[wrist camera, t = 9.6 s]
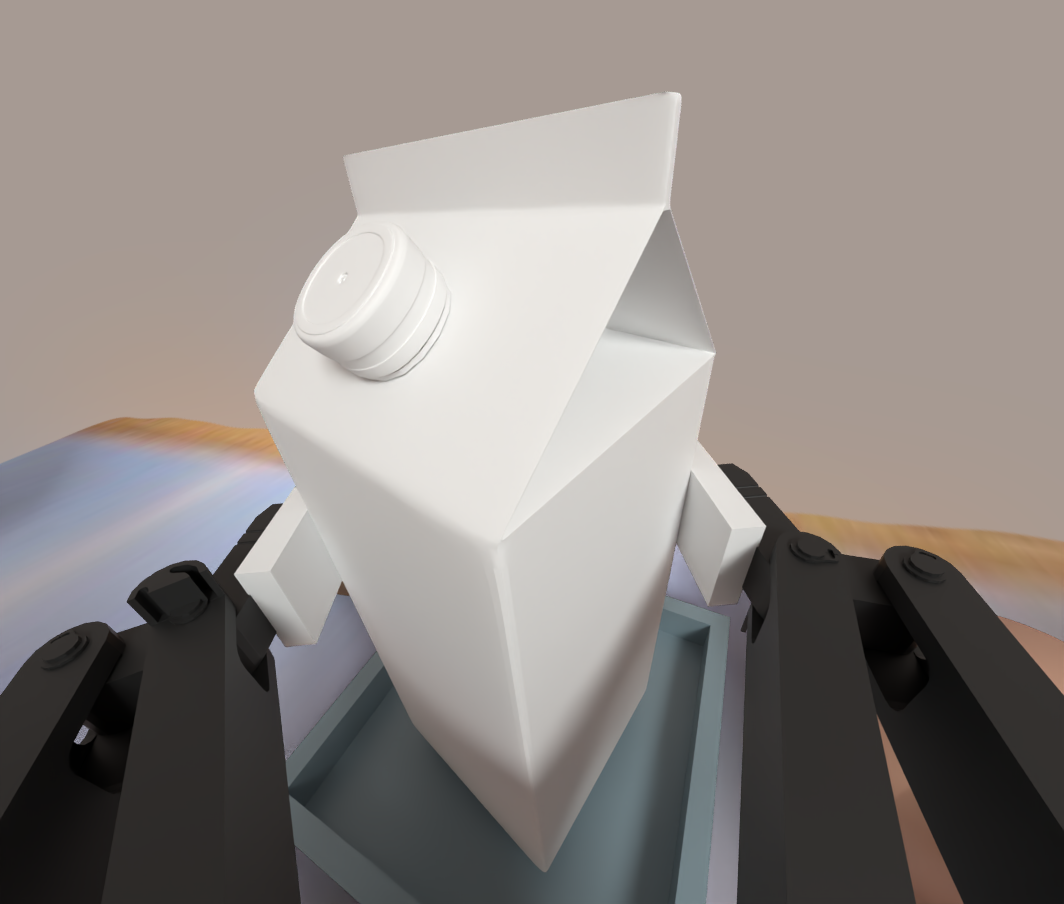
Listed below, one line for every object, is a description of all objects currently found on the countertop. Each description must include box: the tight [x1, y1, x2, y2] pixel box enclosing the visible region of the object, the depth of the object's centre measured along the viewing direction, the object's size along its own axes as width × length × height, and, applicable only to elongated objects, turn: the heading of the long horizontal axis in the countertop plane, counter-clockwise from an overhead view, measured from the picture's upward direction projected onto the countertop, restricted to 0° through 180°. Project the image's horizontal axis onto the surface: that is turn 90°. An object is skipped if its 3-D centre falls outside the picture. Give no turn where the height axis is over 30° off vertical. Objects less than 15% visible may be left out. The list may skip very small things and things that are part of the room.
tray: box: [286, 596, 730, 904], centre depth 17 cm, size 15×15×3 cm
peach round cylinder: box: [877, 616, 1064, 904], centre depth 12 cm, size 7×7×8 cm
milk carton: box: [254, 92, 716, 872], centre depth 11 cm, size 7×7×19 cm
